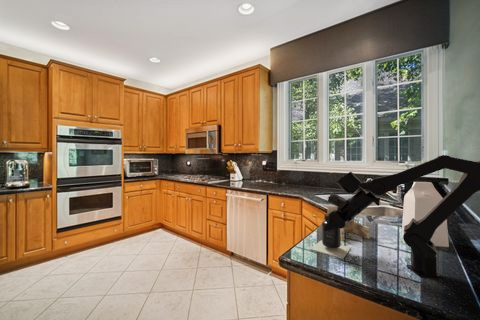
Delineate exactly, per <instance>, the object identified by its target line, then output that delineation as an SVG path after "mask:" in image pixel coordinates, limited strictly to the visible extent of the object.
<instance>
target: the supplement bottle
mask: <svg viewBox="0 0 480 320" xmlns="http://www.w3.org/2000/svg"><path fill="white" fill-rule="evenodd" d="M323 216H324V218H323V219H324V220H323V221H322V222H321V241H322V244H323V245H324V246H326V247H329V248H339V247H340V246H341V245H342V242H341V241H342V240H341V234H340V228H338V229H333V230H329V231H325V230H324V228H325V226H326V225H327V224H328V222H329V221H330V217H329V215H328V214H327V213H325V214H324V215H323Z"/></svg>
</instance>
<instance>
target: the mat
mask: <svg viewBox="0 0 480 320" xmlns="http://www.w3.org/2000/svg"><path fill="white" fill-rule="evenodd" d="M351 248H352V247H351V246H346V245H343V244H341V246H340V247H339V248H329V247H326V246H324V245H323V244H322V240H319V241H318V242H317V243H316V244H315V245H313V246H312V247H311V248H310V251H313V252H316V253H320V254H323V255H328V256H332V257H334V258H335V257H336V258H338V259H339V258H340V259H342V260H343V259H345V257H346V256H347V254H348V253H349V252H350V250H351Z"/></svg>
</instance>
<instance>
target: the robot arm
mask: <svg viewBox="0 0 480 320" xmlns="http://www.w3.org/2000/svg"><path fill="white" fill-rule="evenodd" d="M443 169H446V170H450V171H451V170H452V171H454V172H458V173H462V175H461V177H460V179H459V180H458V183H457V184H456V185H455V186H454V187H453V188H452V189H451V190H450V191H448V193H447V194H446V195H445V196H444V197H442V198H443V199H442V200H441V201H440V202H439V203H438V204H437V205H436V206H435V207H434V208H433V209H432V210H431V211H430V212H429V213H428V214H427V215H426V216H425V217H424V218H422V219H420V220H418V221H416V220H415V219H414V218H413V219H412V220H411V221H410V223H409V224H408V225H406V226H404V236H402V237H403V242H404V243H405V245H407V246H408V247H410V264H406V265H405V266H406V267H407V268H408V269H409V270H410V271H412V272H413V273H414V274H416V275H417V276H419V277H425V278H438V279H439V278H440V279H441V278H442V279H443V276H444V275H442V274H440V273H439V272H437V271H438V267H437V265H438V262H437V261H438V260H437V259H438V258H437V254H438V253H437V249H436V246H435V245H434V243H432V242H431V241H430V239H431V238H432V236H433V234H434V232H435V230H436V229H437V228H438V227H439V226H440V225H441V224H442V223H443V222H444V221H445V220H446V219H449V217H451V216H452V215H453V214H454V213H455V212H456V211H457V210H458V209H459V208H460V207H461V206H463V204H465V203H466V201H468V200H469V199H470V198H471V197H472V196H473V195H474V194H476V193H477V192H480V160H477V161H476V160H475V161H474V160H467V159H463V158H458V157H453V156H450V155H447V154H442V155H438V156H437V157H435V158H433V159H431V160H428V161H425V162H424V163H421V164H418V165H415V166H413V167H410V168H407V169H405V170H402V171H400V172H396V173H394V174H389V175H384V176H380V177H375V178H373V179H372V180H368V181H367V180H364V181H361V180H360V179H359V178H358V177H357V176H356V175H355V174H354V173H353V172H352V171H349V172H348V173H346V174H345V175H343V176H342V177H340V178H339V179H338V181H336V184H337V185H338V186H339V187H340V188H341V189H342V190H343V191H344V192H345V193H346V194H348V195H349V194H351V195H353V196H352V197H351V198H348V199H346V198H344V197H342V196H341V195H338V194H336V193H330V195H329V196H328V198H327V202H328V203H330V204H332V205H333V206H338V208H337V210H334V211H332V212H331V213H330V214H328V215H329V217H330V221H329V222H328V224H327V225H326V226H325V228H324V230H325V231H329V230H333V229H338V228H341V229H342V228H343V227H345V226H346V225H347V224H348V222H349V221H350V220H352V219H353V218H354V219H355V218H356V217H357V216H358V215H359V214H360V213H362V212H363V211H364V210H366V209H367V208H369V206H371V205H372V204H373V203H374V204H376V206H378V207H379V206H380V205H381V199H382V198H381V197H380V196H382V195H385V194H387V193H389V192H391V191H392V190H394V189H395V188H398V187H399V186H401V185H403V184H406V183H408V182H410V181H411V182H412V181H414V180H416V179H419V178H423V177H425V176H427V175H430V174H433V173H436V172H439V171H441V170H443ZM358 190H359V191H358ZM357 191H358V192H357Z"/></svg>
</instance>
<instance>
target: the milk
mask: <svg viewBox="0 0 480 320" xmlns="http://www.w3.org/2000/svg"><path fill="white" fill-rule="evenodd" d="M443 198H444V197H442V195H441V194H440V193H439V191H438V190H437V189H436V188H435V186H434V184H433V183H432V182H430V181H413V184H412V186H411V188H410V189H409V190H408V191H407V192H406V193H405V194H404V197H403V208H402V222H401V223H402V224H401V225H402V226H401V236H402V237H403V236H404V226H406V225H408V224H409V223H410V221H411V220H412V219H413V218H414V219H415V220H416V221H418V220H420V219H422V218H424V217H425V216H426V215H427V214H428V213H429V212H430V211H431V210H432V209H433V208H434V207H435V206H436V205H437V204H438V203H439V202H440V201H441V200H442V199H443ZM447 219H448V218H447ZM447 219H446V220H445V221H444V222H443V223H442V224H441V225H440V226H439V227H438V228H437V229H436V230H435V232H434V234H433V236H432V238H431V239H430V241H431V242H432V243H434V245H435V247H442V248H443V247H444V248H449V247H450V245H449V233H448V232H449V231H448V222H447V221H448V220H447Z"/></svg>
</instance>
